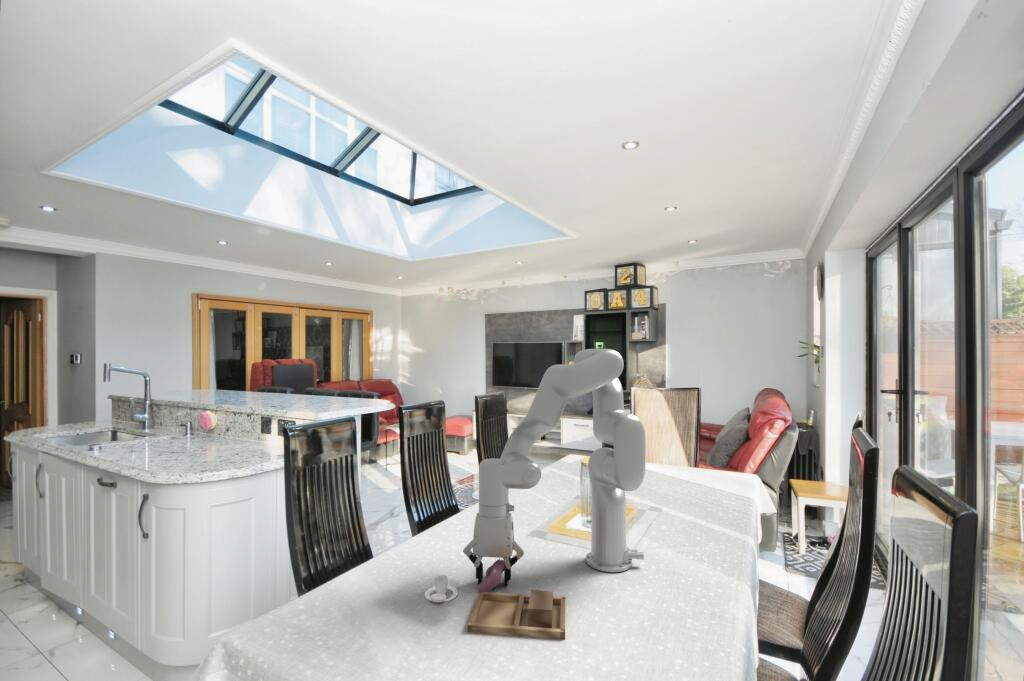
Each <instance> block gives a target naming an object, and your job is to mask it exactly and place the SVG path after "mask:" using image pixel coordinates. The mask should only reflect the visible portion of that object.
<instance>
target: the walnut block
mask: <svg viewBox="0 0 1024 681" xmlns="http://www.w3.org/2000/svg"><path fill="white" fill-rule="evenodd" d="M529 592H530V593H529V595H530V599H529V606H528V627H540V628H552V618H553V596H554V591H553V590H542V589H541V590H540V589H530V591H529Z"/></svg>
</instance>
